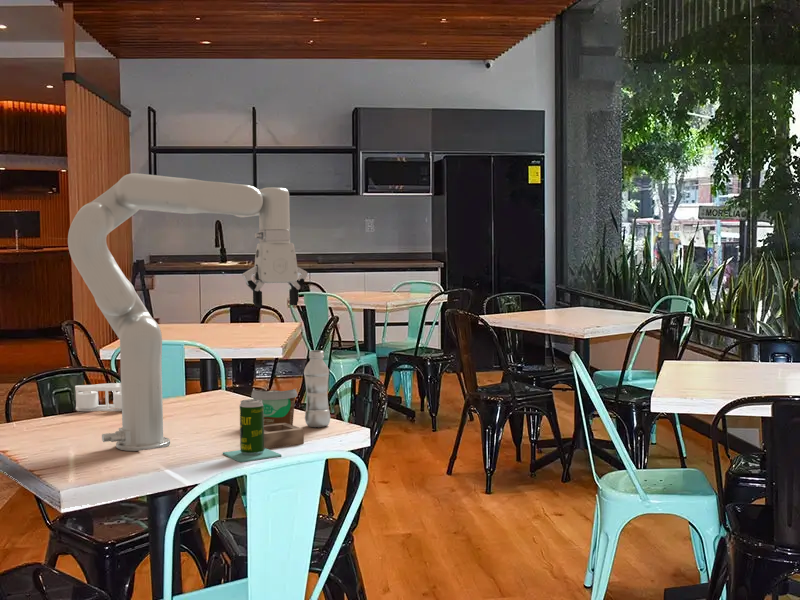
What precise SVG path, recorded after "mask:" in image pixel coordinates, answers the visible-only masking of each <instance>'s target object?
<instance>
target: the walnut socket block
mask: <svg viewBox="0 0 800 600" xmlns="http://www.w3.org/2000/svg"><path fill="white" fill-rule="evenodd" d="M304 432H305V429H304V428H302V427H299V426H296V425H294V424H293V425H290V424H288V423H279V424H270V425H264V448H266V449H274V448H281V447H289V446H296V445H297V446H298V445H303V444H304V443H305V435H304V434H305V433H304Z"/></svg>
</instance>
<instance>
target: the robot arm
mask: <svg viewBox="0 0 800 600" xmlns="http://www.w3.org/2000/svg"><path fill="white" fill-rule="evenodd" d="M140 210H142V211H153V212H164V213H175V214H181V215H183V214H184V215H185V214H189V215H194V214H218V215H219V214H221V215H230V216H231V215H233V216H235V217H238V218H250V217H255V216H256V217H259V219H258V222H259V223H258V225H259V230H258V232H255V233H254V239H258V241H259V243H257V244H256V249H255V257H254V266H252V267H251V268H250V269H248V270H246V271H245V272H243V273H242V277H243V280H244V281H245V284H246V285H247V287H248V288H250V291H252V303H253V304H254V307H255V308H262V307H263V291H262V290H261V289H262V287H263V286H264V284H288V286H289V287H290V289H289V298H288V299H289V305H290V306H298V302H299V290H300V289H301V287H302V286H303V284H304V283H305V281H306V278H307V276H308V271H306V270H304V269H303V268H301V267H299V266H298V261H297V254H296V248H295V244H294V242H291V226H290V225H291V224H290V222H291V219H290V218H291V215H290V192H289V190H288V189H287V188H285V187H263V188H261V189H260V188H259V189H258V188H257V187H255V186H253V185H249V184H240V183H233V182H232V183H231V182H223V181H221V182H220V181H210V180H209V181H208V180H200V179H194V178H185V177H174V176H166V175H165V176H164V175H158V174H157V175H156V174H147V173H145V174H144V173H137V172H136V173H135V172H132V173H128V174H124V175H123V176H122V177H121V178H120V179H119V180H118V181H117V182H116V183H115V184H113V185H112V186H111V187H110V188H108V189H107V190H106V191H104V193H101V195H99V196H98V197H96V198H95V199H94V200H93V199H92V201H90V202H88V203H86V204H84V205H82V207H80V209H79V210H78V211H77V213H76V214H75V216H74V217H73V219H72V222H71V223H70V226H69V229H68V235H67V246H68V251H69V255H70V258H71V260H72V262H73V265H74V266H75V267H76V269H77V270H78V271H77V272H78V273H79V274H80V276H81V278H82V279H83V281H84V283H85V285H86V286H87V288H88V290H89V291H90V292H91V295H92V296H93V298H94V301H95V304H96V306H97V307H98V309H99V310H100V311H101V313H102V315H103V316H104V319H106V321H107V322H108V324H109V325H110V327H111V329H112V331H114V333H115V335H116V336H117V338H118V340H119V347H120V348H119V350H120V351H119V352H120V354H119V355H120V383H121V395H122V411H121V422H122V423H121V424H122V425H121V427H119V428H118V430H116V431H114V432H113V433H112V432H111V433H110V432H108V433H102V434H101V441H102V442H103V443H105V442H106V443H107V442H111V443H115V447H116V449H118V450H121V451H127V452H139V451H146V450H155V449H163V448H166V447H169V446H170V444H171V439H170V438H168V437H165V436H164V412H163V411H164V410H163V409H164V406H163V402H164V401H163V373H162V372H163V371H162V368H163V367H162V366H163V364H162V363H163V361H162V359H163V358H162V356H163V355H162V351H163V337H162V336H163V335H162V330H161V328H160V325H159V323H158V322H157V320H155V319H154V318H153V317H152V315H151V314H150V312H149V310H148V309H147V307H146V306H145V305H144V302H143V301H142V300H141V298H140V296H139V294H138V293H137V292H136V290H135V287H134V285H133V284H132V282H131V281H129V280H128V278H127V277H126V275H125V273H124V272H123V271H122V268H120V266H119V265H118V263H117V261H116V260H115V257H114V256H113V255H112V252H111V251H110V249H109V246H108V243H107V236H108V235H109V234H110V233H111V232H112V231H114V230H115V229H116V228H118V227H119V226H120V225H121V224H123V223H124V222H126V221H127V220H128V219H130V218H131V217H132V216H134V215H135V214H136V213H138V211H140ZM252 275H254V279H255V280H254V281H253V279H252Z"/></svg>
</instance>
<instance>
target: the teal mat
mask: <svg viewBox="0 0 800 600" xmlns="http://www.w3.org/2000/svg"><path fill="white" fill-rule="evenodd" d="M222 455H223V456H225V457H228V458H230V459H232V460H235V461H237V462H238V463H245V462H253V461H260V460H265V459H273V458H279V457H282V454H280V453H279V452H276V451H274V450H271V449H270V448H268V449H266V448H264V452H263V453H262V454H260V455H254V456H247V455H243V454H242V453H241V450H240V449H237V450H232V451H223V452H222Z"/></svg>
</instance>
